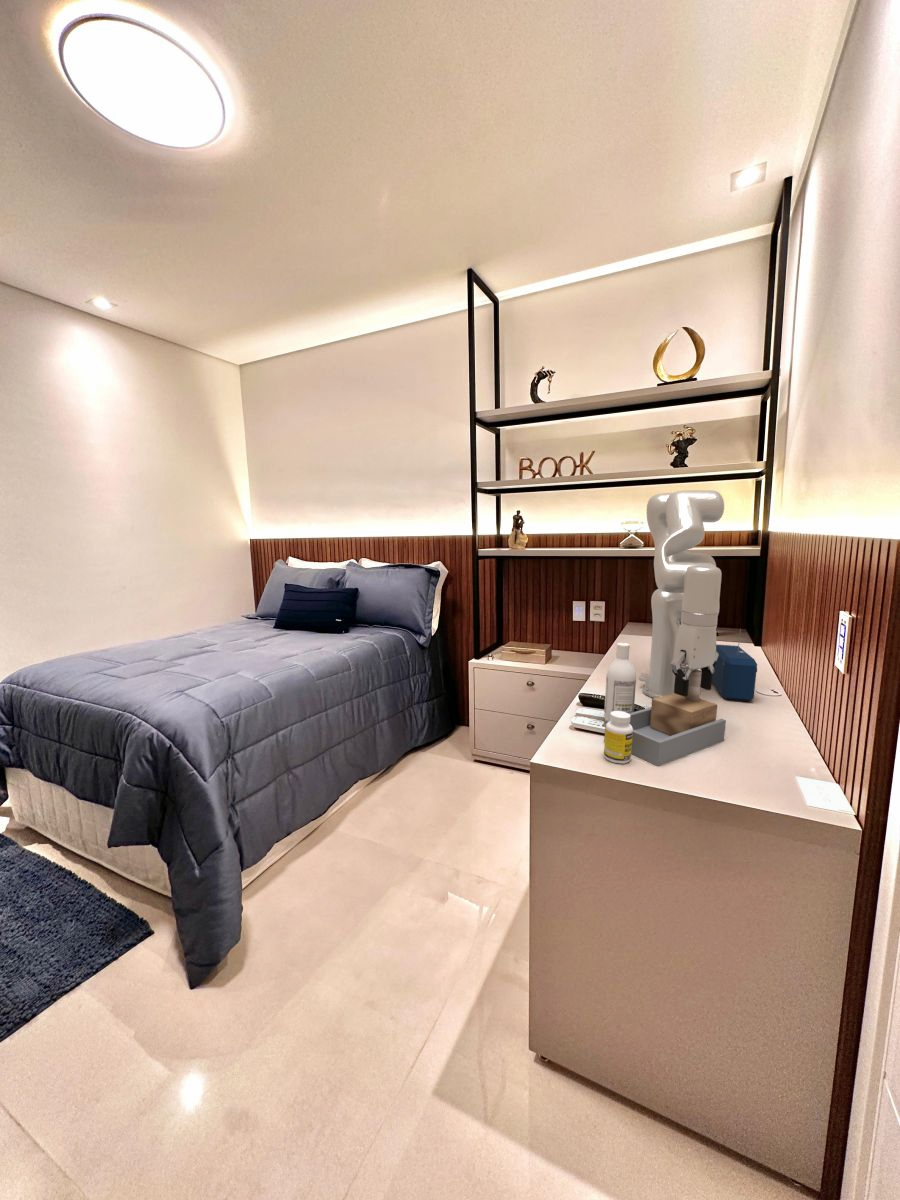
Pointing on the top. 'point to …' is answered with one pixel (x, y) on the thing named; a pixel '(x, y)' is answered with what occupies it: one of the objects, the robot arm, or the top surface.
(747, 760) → the top surface
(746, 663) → the radio
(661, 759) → the bay
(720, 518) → the robot arm
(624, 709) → the bath foam
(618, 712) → the supplement bottle
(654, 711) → the block
